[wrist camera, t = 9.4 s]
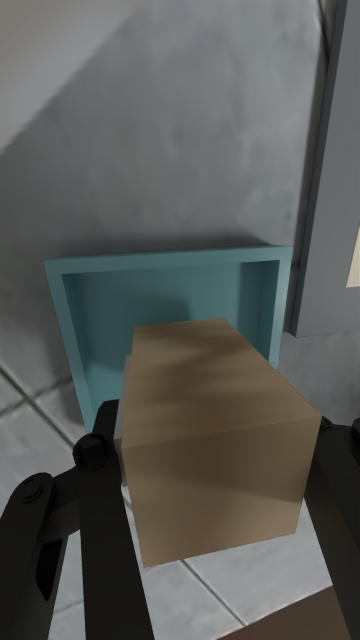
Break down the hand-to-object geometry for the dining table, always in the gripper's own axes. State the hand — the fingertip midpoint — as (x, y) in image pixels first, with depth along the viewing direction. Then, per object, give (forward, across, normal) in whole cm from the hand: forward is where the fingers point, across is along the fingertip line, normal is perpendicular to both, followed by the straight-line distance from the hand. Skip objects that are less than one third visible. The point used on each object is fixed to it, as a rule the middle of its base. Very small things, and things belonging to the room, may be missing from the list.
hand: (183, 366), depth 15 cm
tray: (+3, 0, 0) cm, 3 cm away
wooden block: (+1, 0, 0) cm, 1 cm away
